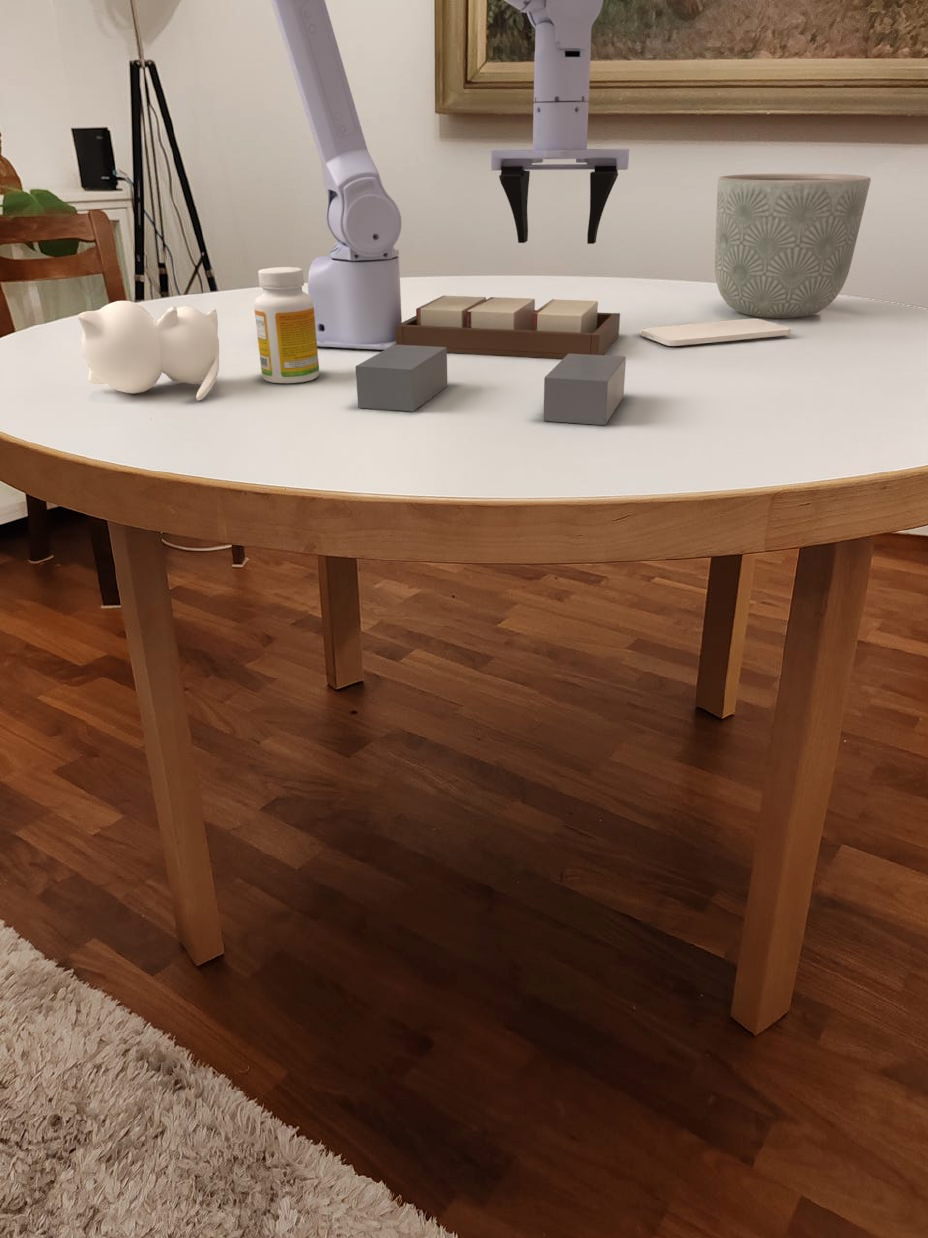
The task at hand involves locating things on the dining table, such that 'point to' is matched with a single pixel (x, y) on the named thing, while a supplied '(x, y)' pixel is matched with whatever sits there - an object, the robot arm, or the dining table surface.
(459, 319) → the beige book
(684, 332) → the smartphone
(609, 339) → the book tray
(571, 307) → the beige rectangular block
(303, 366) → the supplement bottle
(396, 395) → the gray rectangular block
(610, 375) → the grey box
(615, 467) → the dining table surface
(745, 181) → the planter
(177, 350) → the cat figurine
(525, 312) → the ivory book
